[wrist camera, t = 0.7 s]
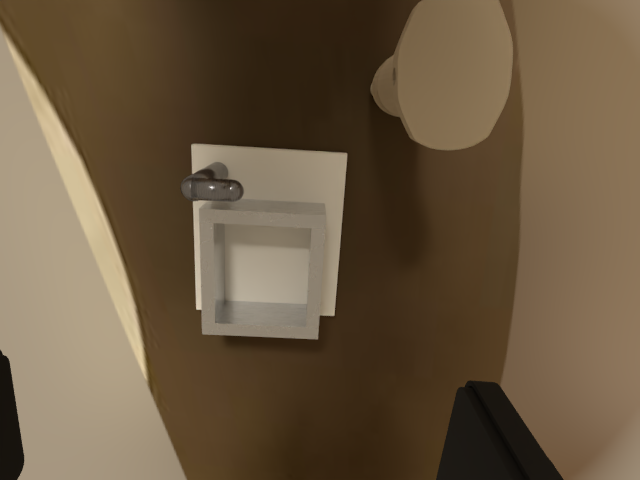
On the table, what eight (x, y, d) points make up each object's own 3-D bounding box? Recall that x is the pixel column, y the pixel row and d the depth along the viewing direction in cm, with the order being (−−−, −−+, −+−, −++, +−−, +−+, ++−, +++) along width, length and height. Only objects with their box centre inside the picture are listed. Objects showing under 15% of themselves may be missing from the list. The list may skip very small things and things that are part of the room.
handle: (423, 41, 31) (519, -17, 17) (420, 130, 33) (504, 147, 19) (358, 44, 31) (398, -11, 17) (359, 133, 33) (396, 152, 19)
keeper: (194, 143, 33) (155, 155, 25) (346, 152, 33) (357, 167, 25) (199, 304, 37) (166, 360, 29) (333, 310, 37) (339, 368, 29)
